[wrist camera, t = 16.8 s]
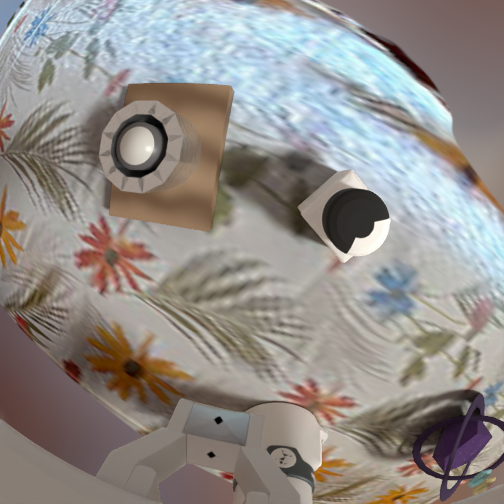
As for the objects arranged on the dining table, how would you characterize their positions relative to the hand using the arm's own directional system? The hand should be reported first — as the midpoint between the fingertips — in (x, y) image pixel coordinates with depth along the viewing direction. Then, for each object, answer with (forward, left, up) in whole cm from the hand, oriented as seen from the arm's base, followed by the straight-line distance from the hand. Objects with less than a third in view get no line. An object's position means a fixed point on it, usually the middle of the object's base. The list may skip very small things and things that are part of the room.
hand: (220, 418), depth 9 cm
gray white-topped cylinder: (+10, +14, -26) cm, 31 cm away
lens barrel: (+10, +14, -27) cm, 32 cm away
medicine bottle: (+6, -8, -29) cm, 31 cm away
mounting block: (+10, +14, -29) cm, 34 cm away
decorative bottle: (-32, -48, -29) cm, 65 cm away
